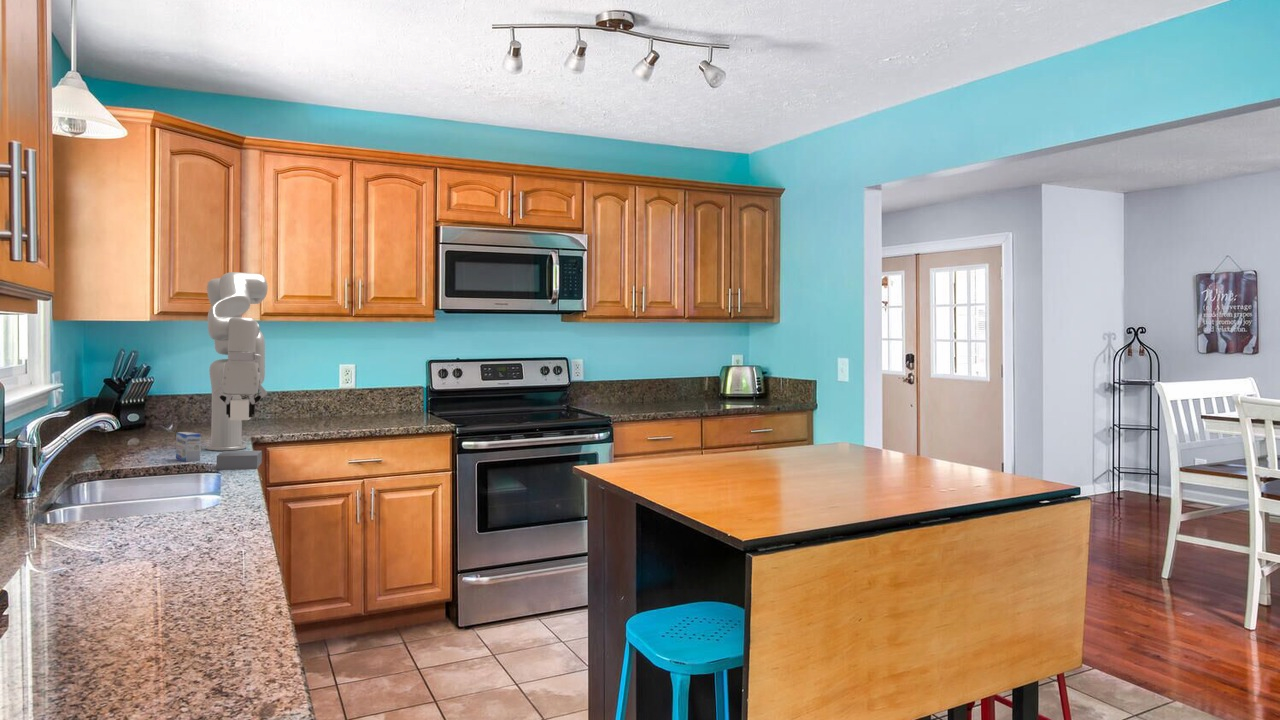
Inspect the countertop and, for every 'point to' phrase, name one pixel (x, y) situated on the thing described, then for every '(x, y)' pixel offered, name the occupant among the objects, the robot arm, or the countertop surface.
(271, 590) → the countertop surface
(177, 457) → the medicine box
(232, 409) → the cube
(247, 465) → the plinth
